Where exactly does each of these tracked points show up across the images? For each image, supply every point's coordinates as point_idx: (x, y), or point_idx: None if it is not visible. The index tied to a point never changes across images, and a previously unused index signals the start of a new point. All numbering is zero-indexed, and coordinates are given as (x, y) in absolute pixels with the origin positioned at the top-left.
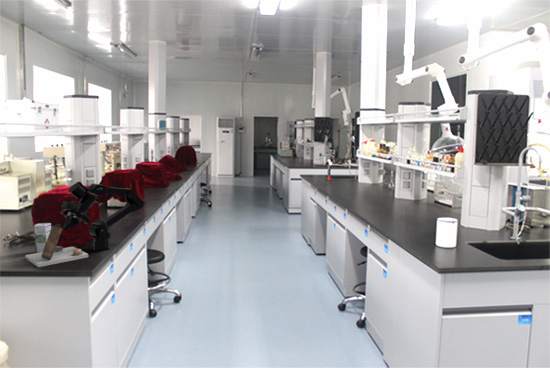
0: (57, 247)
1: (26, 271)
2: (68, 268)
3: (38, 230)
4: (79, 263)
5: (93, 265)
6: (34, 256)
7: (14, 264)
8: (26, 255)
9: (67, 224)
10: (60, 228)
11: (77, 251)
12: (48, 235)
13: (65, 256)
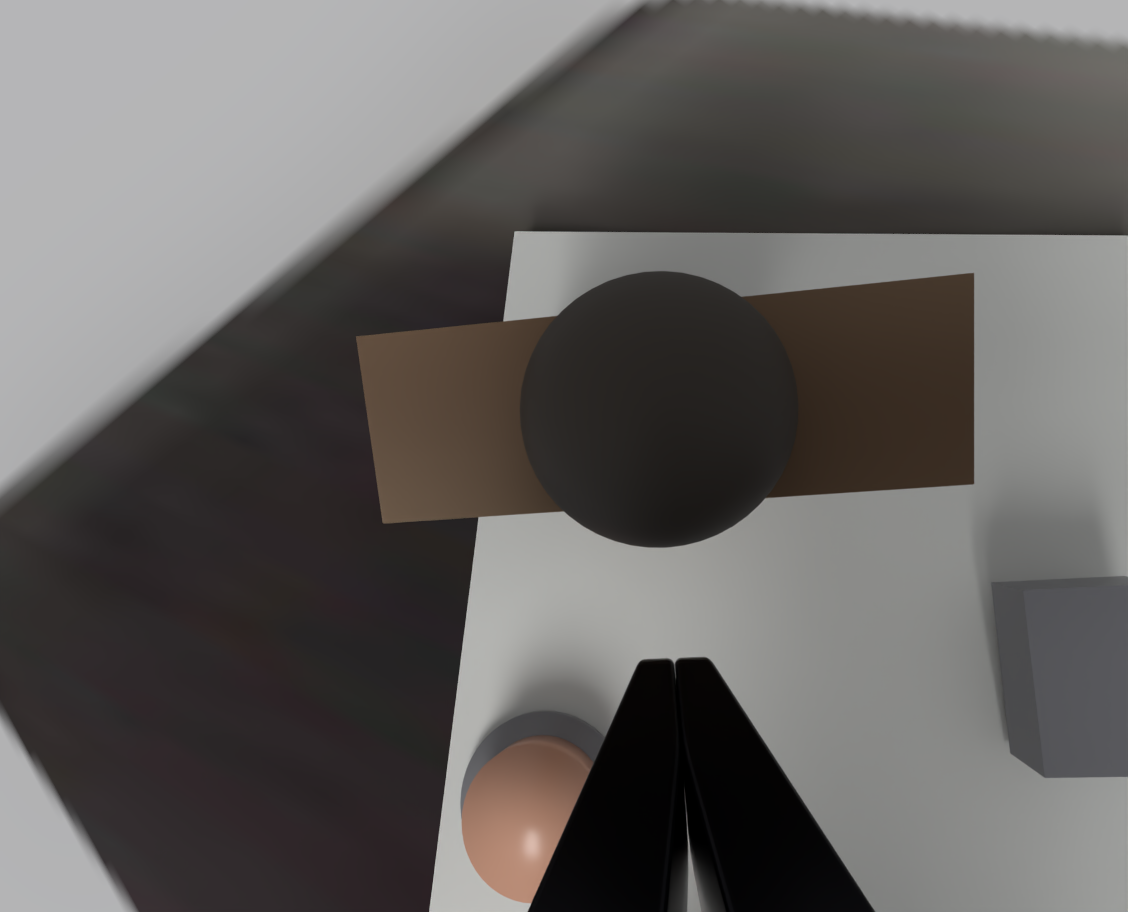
0: (1028, 660)
1: (469, 134)
2: (190, 471)
3: None
4: (260, 656)
5: (37, 731)
6: None
7: (881, 102)
8: (1123, 243)
9: (536, 909)
10: (380, 441)
11: (470, 791)
12: None
13: (585, 616)
